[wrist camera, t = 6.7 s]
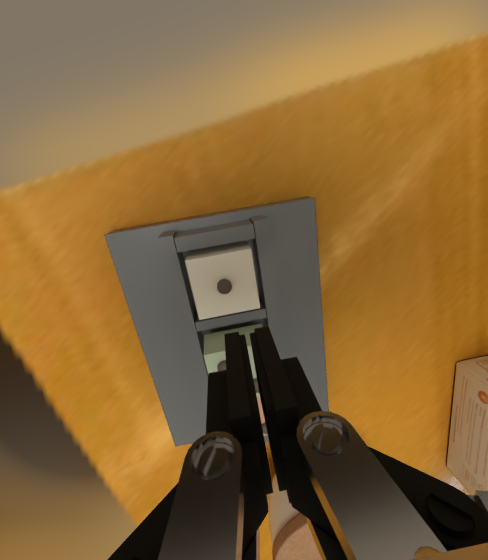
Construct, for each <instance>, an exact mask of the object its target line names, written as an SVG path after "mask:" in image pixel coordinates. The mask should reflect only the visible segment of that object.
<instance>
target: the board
mask: <svg viewBox="0 0 488 560" xmlns="http://www.w3.org/2000/svg"><path fill="white" fill-rule="evenodd" d="M104 236H105V239H106V242H107V245H108V248H109V251H110V254H111V257H112V259H113V262H114V265H115V268H116V271H117V274H118V277H119V280H120V283H121V286H122V289H123V292H124V295H125V298H126V301H127V304H128V307H129V310H130V313H131V316H132V319H133V322H134V325H135V328H136V331H137V334H138V337H139V340H140V343H141V346H142V349H143V352H144V355H145V357H146V360H147V363H148V366H149V369H150V372H151V375H152V378H153V381H154V384H155V387H156V390H157V393H158V396H159V399H160V402H161V405H162V408H163V411H164V414H165V417H166V420H167V423H168V426H169V429H170V432H171V435H172V438H173V441H174V444H175V447H176V446H180V445H185V444H190V443H194V442H195V441H196V440H197V439H199V438H200V437H201V436H203V435H205V434H206V416H207V391H208V371H207V367H206V363H205V359H204V335H205V334H211V333H216V332H221V331H226V330H231V329H236V328H241V327H246V326H251V325H256V324H261V323H262V326H263V327H265V326H269V329H270V331H271V334H272V337H273V340H274V342H275V345H276V348H277V351H278V353H279V356H280V359H287V358H292V357H297V358H298V360H299V362H300V364H301V366H302V368H303V370H304V373H305V375H306V377H307V379H308V381H309V383H310V385H311V388H312V390H313V392H314V394H315V396H316V398H317V401H318V403H319V405H320V407H321V409H322V411H329V407H328V392H327V377H326V362H325V347H324V332H323V317H322V302H321V287H320V271H319V256H318V241H317V226H316V211H315V198H311V197H304V198H298V199H292V200H286V201H281V202H275V203H269V204H264V205H258V206H252V207H246V208H241V209H235V210H229V211H224V212H218V213H212V214H206V215H201V216H195V217H189V218H184V219H178V220H172V221H166V222H161V223H155V224H149V225H144V226H138V227H132V228H126V229H121V230H115V231H111V232H109V233H107V234H105V235H104ZM242 241H247V243H248V244H249V246H250V248H251V251H252V257H253V264H254V270H255V277H256V284H257V290H258V297H259V303H260V308H258V309H253V310H248V311H243V312H238V313H233V314H227V315H222V316H217V317H212V318H207V319H202V320H199V317H198V312H197V308H196V304H195V300H194V296H193V292H192V288H191V284H190V279H189V275H188V271H187V267H186V263H185V259H186V256H187V253H188V251H193V250H198V249H204V248H209V247H215V246H220V245H226V244H231V243H237V242H242ZM264 441H265V442H268V441H269V439H268V435H266V436H264Z"/></svg>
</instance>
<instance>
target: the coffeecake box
mask: <svg viewBox="0 0 488 560" xmlns="http://www.w3.org/2000/svg"><path fill="white" fill-rule="evenodd" d="M446 467H447V468H448V469H449V470H450V471H451V472H452V473H453V474H454V476H455V477H456V478H457V479H458V480H459V482H460V483H461V484H462V485H463V486H464V487H465V489H466V490H467V491H468V492H469V493H470V495H475V491H476V490H480V491H488V356H484V357H478V358H473V359H469V360H464V361H460V362H457V364H456V376H455V386H454V396H453V406H452V416H451V427H450V436H449V447H448V457H447V466H446Z"/></svg>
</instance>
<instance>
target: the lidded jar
mask: <svg viewBox="0 0 488 560" xmlns="http://www.w3.org/2000/svg"><path fill="white" fill-rule="evenodd" d="M272 487H273V493H270V494H269V505H268V512H269V527H270V535H271V542H272V547H273V549H272V553H273V560H322V558H321V556H320V553H319V551H318V549H317V546H316V544H315V541H314V539H313V536H312V534H311V531H310V529H309V526H308V523H307V519H306V517H305V516H304V515H303V514H301V513H300V512H298V511H297V510H296V509H294V508H293V507H292V505H291V503H290V504H289V500H288V495H287V491H286V490H285V491H280V492H279V487H278V483H277V478H276V473H275V475H274V478H273V480H272Z"/></svg>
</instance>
